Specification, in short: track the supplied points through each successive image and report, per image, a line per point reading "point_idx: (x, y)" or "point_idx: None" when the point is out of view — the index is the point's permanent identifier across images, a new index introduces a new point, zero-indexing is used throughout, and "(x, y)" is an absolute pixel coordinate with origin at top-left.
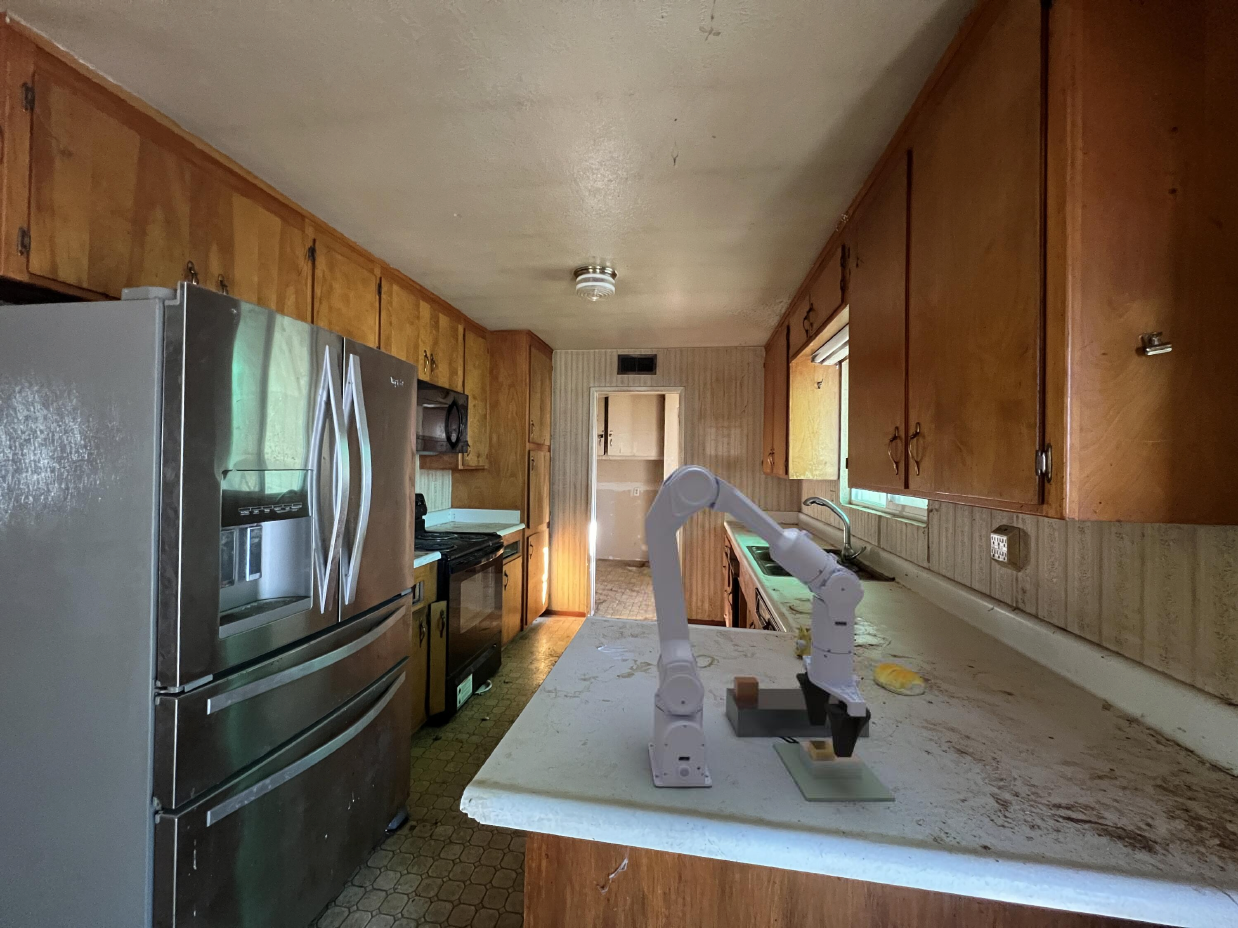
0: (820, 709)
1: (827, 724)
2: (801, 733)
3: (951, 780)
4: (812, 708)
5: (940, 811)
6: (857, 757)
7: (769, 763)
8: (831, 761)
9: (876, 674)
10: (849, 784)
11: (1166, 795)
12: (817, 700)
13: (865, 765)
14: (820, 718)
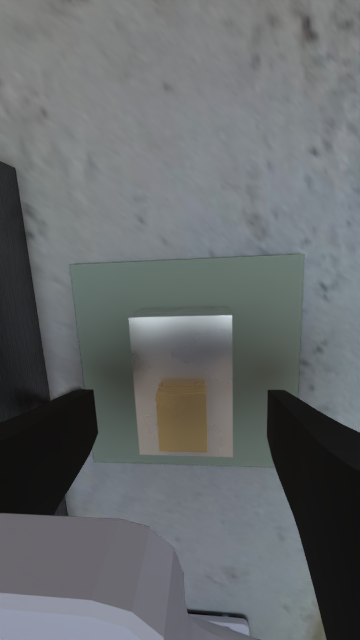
0: (64, 438)
1: (11, 309)
2: (40, 376)
3: (217, 3)
4: (65, 473)
5: (348, 145)
6: (211, 319)
7: (165, 488)
8: (231, 406)
9: None
10: (249, 349)
11: None
12: (40, 480)
13: (170, 264)
14: (84, 417)
